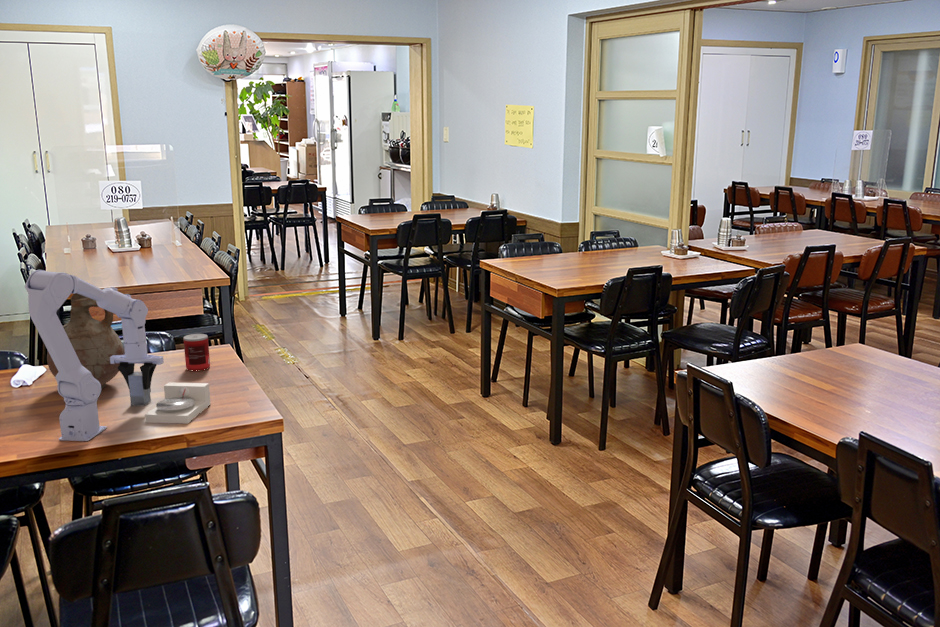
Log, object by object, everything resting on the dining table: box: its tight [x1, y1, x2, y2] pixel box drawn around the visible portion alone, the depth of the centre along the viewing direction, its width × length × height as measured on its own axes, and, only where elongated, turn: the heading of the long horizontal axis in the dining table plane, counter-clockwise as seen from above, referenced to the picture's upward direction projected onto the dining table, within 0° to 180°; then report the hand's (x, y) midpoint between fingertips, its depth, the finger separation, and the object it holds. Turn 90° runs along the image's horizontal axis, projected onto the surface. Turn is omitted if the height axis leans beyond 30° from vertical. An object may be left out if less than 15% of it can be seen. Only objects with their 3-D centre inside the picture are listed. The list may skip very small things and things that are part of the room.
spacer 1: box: [128, 371, 152, 397], centre depth 222 cm, size 4×4×6 cm
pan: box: [155, 397, 195, 411], centre depth 220 cm, size 10×10×1 cm
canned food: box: [182, 333, 211, 372], centre depth 263 cm, size 8×8×11 cm
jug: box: [46, 293, 125, 390], centre depth 242 cm, size 22×22×30 cm
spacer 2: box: [128, 388, 152, 407], centre depth 230 cm, size 4×4×6 cm
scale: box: [144, 382, 211, 424], centre depth 221 cm, size 15×12×6 cm
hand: (139, 388), depth 222 cm, fingers closed on spacer 1, 4 cm apart
